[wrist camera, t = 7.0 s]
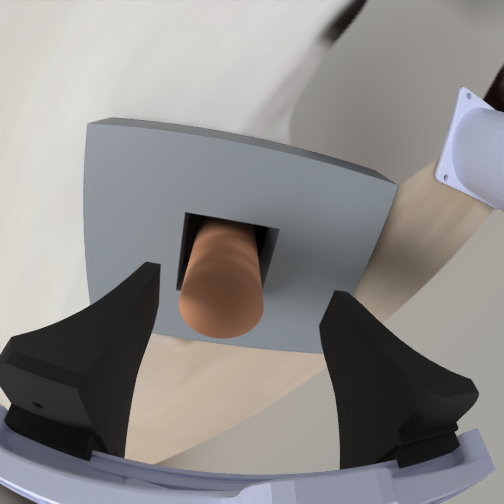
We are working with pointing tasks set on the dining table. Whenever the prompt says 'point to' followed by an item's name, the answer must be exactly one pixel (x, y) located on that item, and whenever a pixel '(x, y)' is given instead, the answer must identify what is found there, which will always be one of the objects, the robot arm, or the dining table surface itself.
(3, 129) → the dining table surface
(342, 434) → the robot arm
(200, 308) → the peg
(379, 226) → the socket board
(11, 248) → the dining table surface
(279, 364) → the dining table surface
